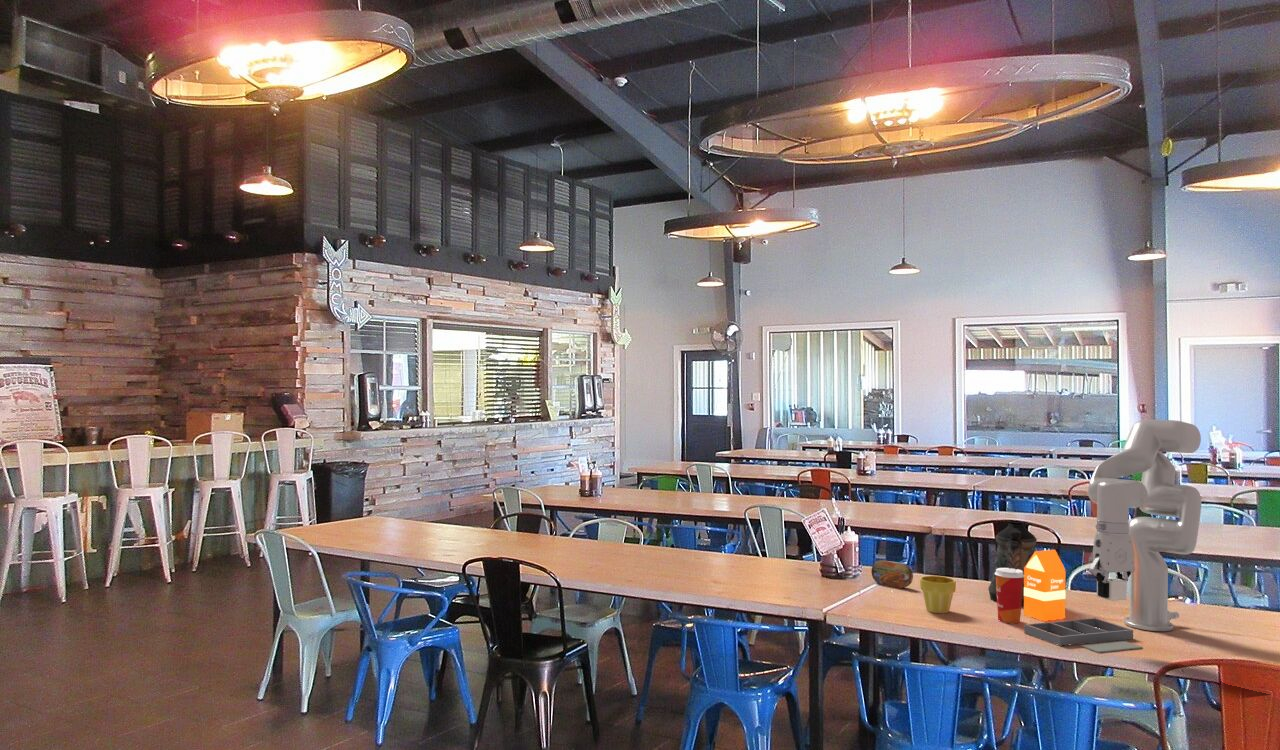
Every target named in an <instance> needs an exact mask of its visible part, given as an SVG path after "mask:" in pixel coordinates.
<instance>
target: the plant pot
mask: <svg viewBox="0 0 1280 750" xmlns="http://www.w3.org/2000/svg"><path fill="white" fill-rule="evenodd" d="M956 582H957V581H956V579H954V578H951V577H948V576H941V575H924V576H921V577H920V578H919V586H920V587H919V588H920V590H921V591H922V594H923V599H924V604H925V608H926V609H925V610H926V611H927V612H929V613H933V614H947V613H950V609H951V605H952V602H953V601H952V600H953V597H954V596H953V595H954V593H955V592H956V591H957V590H956V589H957V587H956V586H957V585H956V584H957V583H956Z"/></svg>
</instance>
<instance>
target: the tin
mask: <svg viewBox="0 0 1280 750" xmlns="http://www.w3.org/2000/svg"><path fill="white" fill-rule="evenodd" d="M870 572H871V575H872V578H873V580H874V581H875V582H876V584H879V585H880V586H881V585H882V586H887V587H892V588H898V589H902V588H907V587H908V586H910V585H911V584H912V583H913V581H914V580H913V578H914V573H913V570H912V568H911V567H910V565H908V564H906V563H903V562H899V561H898V562H897V561H892V560H891V561H889V560H884V559H883V560H881V559H880V560H877V561H875V562H874V563H873V565H872V566H871V571H870Z"/></svg>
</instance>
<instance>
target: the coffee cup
mask: <svg viewBox="0 0 1280 750" xmlns="http://www.w3.org/2000/svg"><path fill="white" fill-rule="evenodd" d="M1015 570H1016V569H1013V568H1011V569H1010V568H997V569H996V572H995V575H996V591H997V602H996V606H997V619H998V621H999V620H1000V621H1002V622H1001V623H1003V622H1006V623H1005V624H1010V623H1017V624H1019V622H1020V623H1021V616H1022V615H1021V614H1022V606H1021V602H1022V589H1023V577H1025V576H1024V575H1023V571H1022V570H1019V569H1017V570H1016V571H1015ZM1000 621H999V622H1000Z"/></svg>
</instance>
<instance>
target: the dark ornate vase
mask: <svg viewBox="0 0 1280 750" xmlns="http://www.w3.org/2000/svg"><path fill="white" fill-rule="evenodd" d="M995 541H996V543H997V549H996V553H995V554H996V555H995V560H994V568H993V573H992V577H991V581H990V584H989V586H988V589H987V590H988V593H989V598H990V600H991V601H992V602H994V603H997V591H996V575H995V572H996V569H997V568H1010V569H1011V568H1013V569H1016V570H1017V569H1019V570H1022V571H1023V575H1024V567H1025V566H1026V565H1027V563H1028V562H1029V560H1030V559H1031V557H1032V556H1033V554H1034V553H1035V551H1036V549H1035V547H1036V544H1037V541H1038V539H1037V537H1036V536H1035V535H1034V534H1033V533H1032V532H1031V531H1030V530H1028V529H1027V528H1026V527H1025V525H1024V523H1022V522H1009V523H1008V525H1007V526H1006V527H1005V528H1004V529H1002V530H1001V531H999V532H998V533H996V535H995ZM1016 570H1015V571H1016ZM1021 607H1024V577H1023V589H1022V602H1021Z"/></svg>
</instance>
